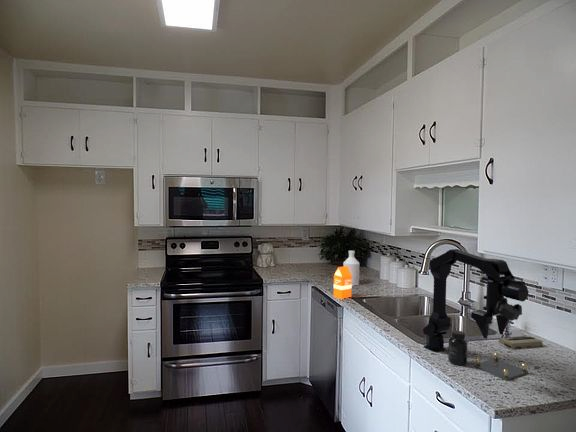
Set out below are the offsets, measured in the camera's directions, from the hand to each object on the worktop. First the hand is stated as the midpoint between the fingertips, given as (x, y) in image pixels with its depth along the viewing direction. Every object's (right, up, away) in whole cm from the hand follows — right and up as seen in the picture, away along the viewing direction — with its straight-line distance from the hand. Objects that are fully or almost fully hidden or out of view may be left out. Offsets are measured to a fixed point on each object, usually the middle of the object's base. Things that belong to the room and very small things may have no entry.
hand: (493, 336), depth 141 cm
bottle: (-28, -7, +146) cm, 149 cm away
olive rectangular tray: (+28, -14, +30) cm, 43 cm away
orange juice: (-40, -9, +109) cm, 116 cm away
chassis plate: (+5, -14, +4) cm, 16 cm away
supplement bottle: (-8, -14, +11) cm, 19 cm away
